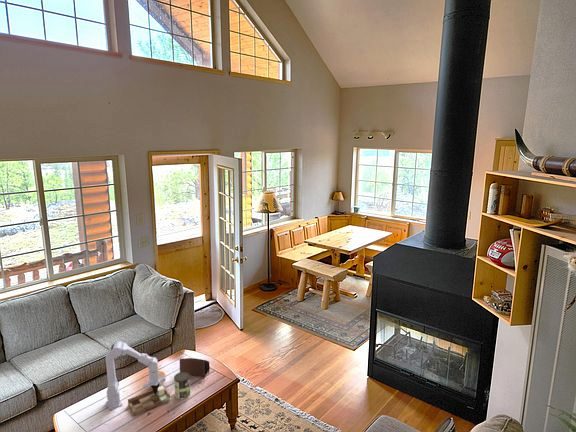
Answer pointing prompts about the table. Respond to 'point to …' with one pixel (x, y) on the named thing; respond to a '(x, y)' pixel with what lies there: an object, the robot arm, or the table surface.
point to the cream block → (161, 390)
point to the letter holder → (195, 367)
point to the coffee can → (182, 385)
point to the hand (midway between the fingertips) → (155, 393)
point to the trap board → (147, 401)
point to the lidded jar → (160, 374)
